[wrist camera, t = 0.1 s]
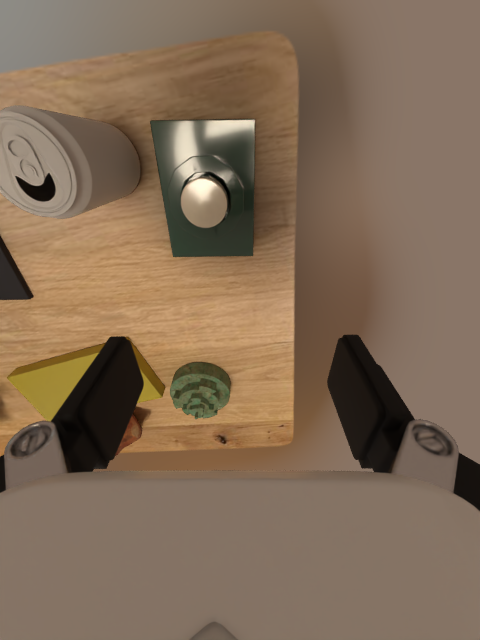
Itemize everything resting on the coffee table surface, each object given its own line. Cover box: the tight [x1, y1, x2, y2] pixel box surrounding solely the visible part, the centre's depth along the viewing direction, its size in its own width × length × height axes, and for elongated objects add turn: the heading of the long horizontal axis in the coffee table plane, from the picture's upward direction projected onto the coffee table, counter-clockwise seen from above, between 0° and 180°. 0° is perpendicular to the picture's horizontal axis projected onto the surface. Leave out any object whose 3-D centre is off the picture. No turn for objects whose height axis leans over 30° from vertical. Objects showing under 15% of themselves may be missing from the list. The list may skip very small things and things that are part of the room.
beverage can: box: [0, 106, 140, 219], centre depth 20 cm, size 6×6×12 cm
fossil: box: [115, 414, 142, 456], centre depth 48 cm, size 13×8×10 cm
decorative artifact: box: [170, 362, 230, 419], centre depth 41 cm, size 10×7×10 cm
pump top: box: [181, 176, 228, 228], centre depth 22 cm, size 4×4×2 cm
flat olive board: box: [7, 337, 165, 422], centre depth 43 cm, size 12×2×24 cm
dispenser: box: [150, 119, 256, 257], centre depth 25 cm, size 12×9×5 cm
